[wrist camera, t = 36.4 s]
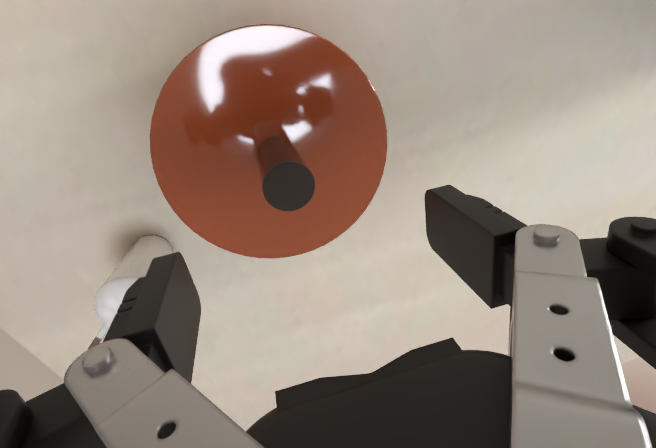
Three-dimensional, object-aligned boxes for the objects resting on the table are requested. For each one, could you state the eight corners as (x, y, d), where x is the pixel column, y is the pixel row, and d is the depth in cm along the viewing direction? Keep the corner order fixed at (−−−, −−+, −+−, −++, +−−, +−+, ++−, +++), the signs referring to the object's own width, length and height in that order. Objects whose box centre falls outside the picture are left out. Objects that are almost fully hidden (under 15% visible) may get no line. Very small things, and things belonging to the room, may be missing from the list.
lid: (181, -21, 18) (156, -56, 12) (414, 78, 23) (477, 88, 17) (134, 224, 23) (99, 286, 17) (337, 266, 27) (365, 326, 21)
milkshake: (106, 256, 33) (58, 333, 24) (150, 217, 32) (118, 281, 23) (148, 286, 35) (119, 367, 26) (190, 250, 34) (175, 320, 25)
